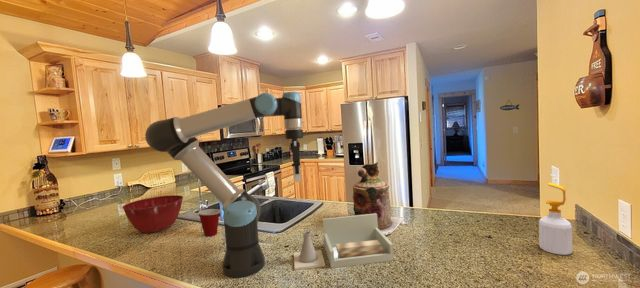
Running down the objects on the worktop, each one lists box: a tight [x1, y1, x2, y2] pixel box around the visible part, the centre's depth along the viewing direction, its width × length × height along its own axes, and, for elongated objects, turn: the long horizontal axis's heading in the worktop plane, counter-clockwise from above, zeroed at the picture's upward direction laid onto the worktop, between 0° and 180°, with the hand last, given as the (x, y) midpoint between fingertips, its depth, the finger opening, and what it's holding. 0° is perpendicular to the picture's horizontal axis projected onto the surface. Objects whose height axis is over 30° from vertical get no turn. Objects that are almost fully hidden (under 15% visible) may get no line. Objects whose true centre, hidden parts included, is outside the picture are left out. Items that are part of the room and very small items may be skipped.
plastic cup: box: [197, 208, 222, 237], centre depth 135 cm, size 11×11×12 cm
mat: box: [293, 249, 326, 271], centre depth 102 cm, size 11×12×1 cm
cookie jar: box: [352, 161, 405, 236], centre depth 133 cm, size 25×25×32 cm
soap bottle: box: [538, 182, 573, 256], centre depth 98 cm, size 9×9×25 cm
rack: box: [322, 213, 395, 269], centre depth 105 cm, size 23×18×12 cm
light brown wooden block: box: [335, 240, 384, 259], centre depth 101 cm, size 17×4×6 cm, turn 95°
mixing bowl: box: [121, 194, 184, 234], centre depth 149 cm, size 28×28×16 cm
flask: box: [299, 230, 318, 262], centre depth 102 cm, size 7×7×10 cm
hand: (297, 179), depth 115 cm, fingers open, 13 cm apart
